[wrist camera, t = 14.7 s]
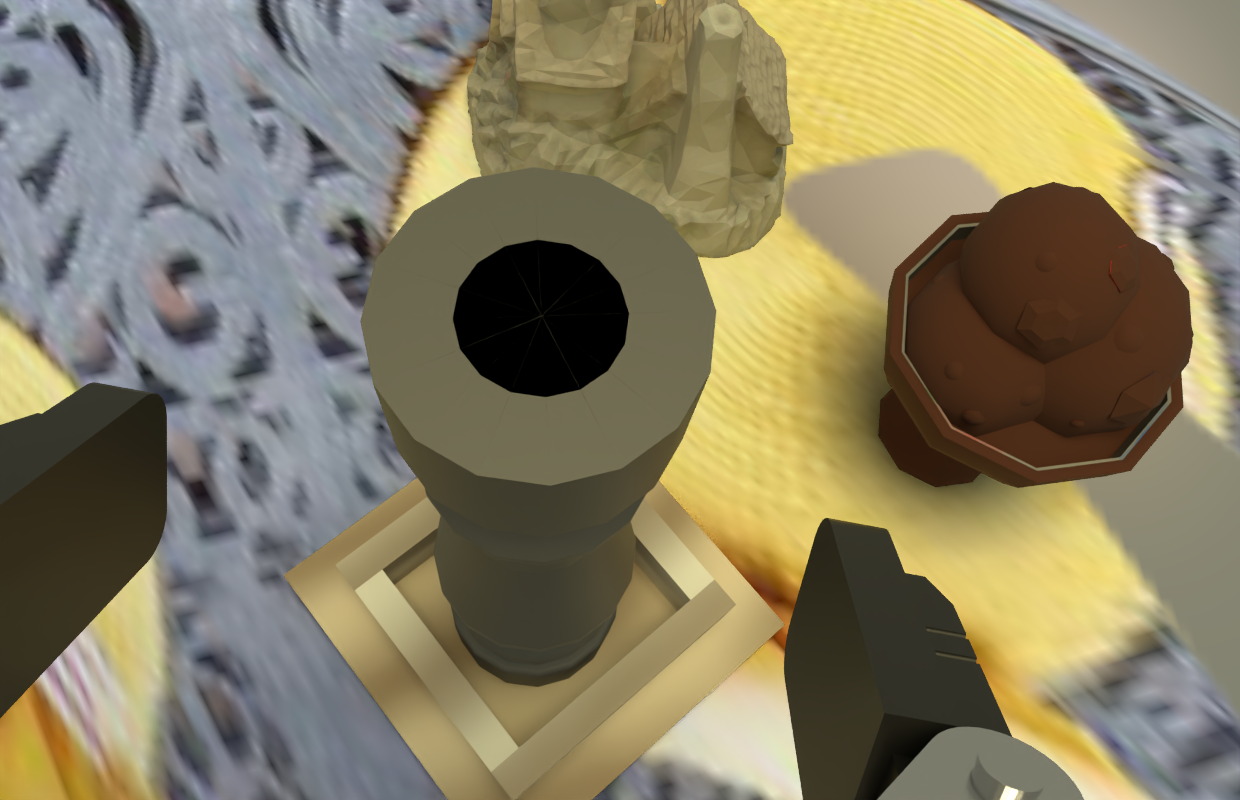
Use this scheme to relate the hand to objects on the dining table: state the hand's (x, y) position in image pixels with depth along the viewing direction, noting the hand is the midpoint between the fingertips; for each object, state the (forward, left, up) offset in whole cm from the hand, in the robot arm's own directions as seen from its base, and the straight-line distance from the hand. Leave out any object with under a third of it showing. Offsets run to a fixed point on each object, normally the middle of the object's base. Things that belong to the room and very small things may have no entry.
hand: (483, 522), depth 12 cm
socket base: (0, +4, -28) cm, 29 cm away
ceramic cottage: (0, +29, -29) cm, 41 cm away
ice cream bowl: (+16, +15, -29) cm, 36 cm away
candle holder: (0, +4, -28) cm, 28 cm away
